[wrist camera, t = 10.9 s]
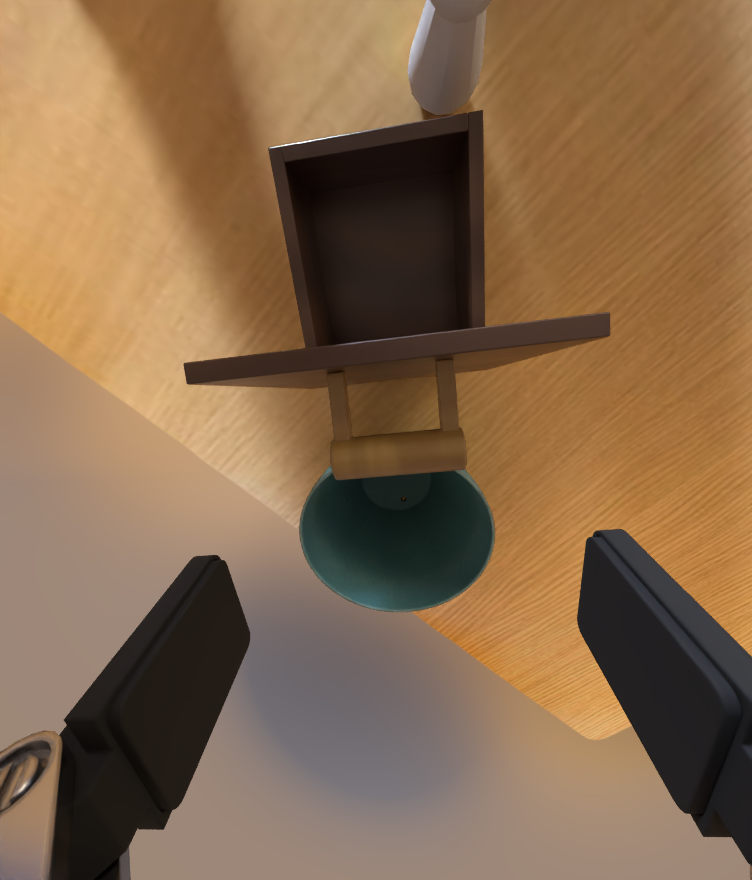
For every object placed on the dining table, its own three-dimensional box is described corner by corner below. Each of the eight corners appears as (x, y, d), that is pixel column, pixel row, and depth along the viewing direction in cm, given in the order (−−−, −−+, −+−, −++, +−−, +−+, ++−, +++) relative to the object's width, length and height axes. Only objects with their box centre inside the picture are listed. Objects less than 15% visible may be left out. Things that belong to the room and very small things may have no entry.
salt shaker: (457, 20, 29) (503, -187, 16) (486, 98, 30) (547, -38, 18) (394, 70, 30) (393, -88, 18) (425, 141, 32) (444, 42, 19)
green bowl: (443, 551, 48) (458, 630, 36) (313, 521, 47) (286, 591, 36) (490, 430, 41) (526, 479, 30) (338, 393, 40) (316, 429, 29)
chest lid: (182, 362, 13) (206, 503, 14) (610, 311, 12) (613, 471, 12) (310, 379, 31) (318, 440, 31) (486, 360, 29) (490, 424, 30)
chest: (300, 186, 33) (267, 147, 25) (460, 159, 32) (483, 109, 24) (330, 365, 39) (312, 383, 31) (465, 350, 38) (485, 364, 30)
